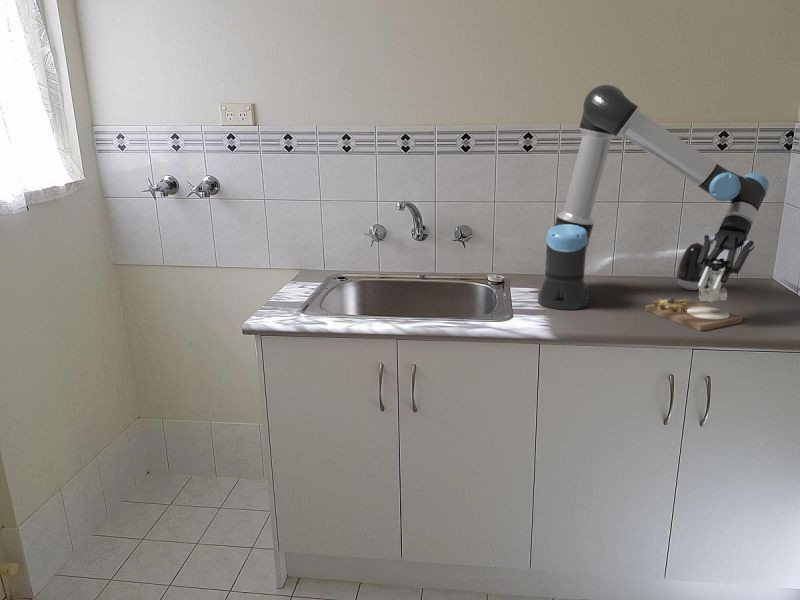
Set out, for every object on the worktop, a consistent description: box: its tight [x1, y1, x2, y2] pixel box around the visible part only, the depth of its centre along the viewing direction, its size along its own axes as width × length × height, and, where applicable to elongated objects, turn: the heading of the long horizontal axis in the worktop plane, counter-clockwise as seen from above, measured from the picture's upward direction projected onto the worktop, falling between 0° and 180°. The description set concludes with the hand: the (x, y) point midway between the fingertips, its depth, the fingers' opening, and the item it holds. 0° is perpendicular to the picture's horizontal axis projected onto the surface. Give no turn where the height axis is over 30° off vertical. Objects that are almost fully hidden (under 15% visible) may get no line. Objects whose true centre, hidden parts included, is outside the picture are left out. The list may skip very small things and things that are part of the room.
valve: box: [698, 258, 729, 303], centre depth 179 cm, size 7×7×12 cm
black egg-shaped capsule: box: [675, 242, 711, 291], centre depth 209 cm, size 10×10×15 cm
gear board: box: [644, 297, 744, 332], centre depth 184 cm, size 20×16×4 cm
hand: (707, 289), depth 177 cm, fingers closed on valve, 3 cm apart
